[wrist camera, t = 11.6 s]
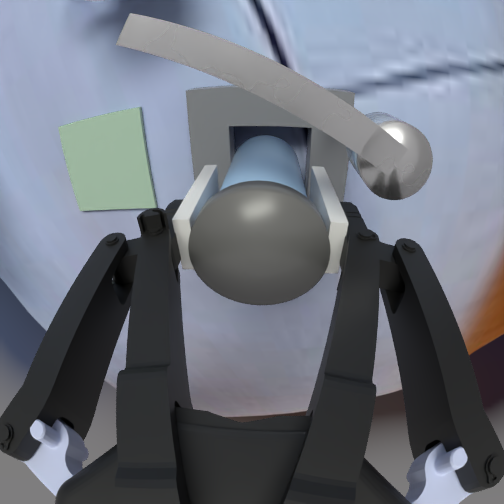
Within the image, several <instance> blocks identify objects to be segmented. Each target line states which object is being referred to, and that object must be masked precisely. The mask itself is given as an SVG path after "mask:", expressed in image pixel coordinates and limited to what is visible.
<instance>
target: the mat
mask: <svg viewBox="0 0 504 504" xmlns="http://www.w3.org/2000/svg"><path fill="white" fill-rule="evenodd" d="M58 128H59V134H60V138H61V143H62V148H63V152H64V156H65V160H66V164H67V168H68V172H69V176H70V180H71V183H72V187H73V190H74V193H75V197H76V200H77V203H78V206H79V209H80V211H90V210H111V209H140V208H156V207H157V201H156V196H155V191H154V186H153V181H152V175H151V170H150V164H149V158H148V152H147V145H146V139H145V132H144V125H143V117H142V109H141V107H138V108H132V109H127V110H122V111H117V112H113V113H108V114H104V115H100V116H96V117H92V118H88V119H84V120H81V121H77V122H73V123H70V124H67V125H64V126H60V127H58Z"/></svg>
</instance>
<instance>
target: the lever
mask: <svg viewBox="0 0 504 504" xmlns="http://www.w3.org/2000/svg"><path fill="white" fill-rule="evenodd" d="M116 45H119V46H123V47H127V48H131V49H135V50H138V51H142V52H145V53H149V54H152V55H156V56H159V57H162V58H165V59H168V60H171V61H174V62H177V63H180V64H183V65H186V66H189V67H191V68H194V69H197V70H199V71H202V72H205V73H207V74H210V75H212V76H215V77H217V78H220V79H222V80H224V81H227V82H229V83H231V84H233V85H236V86H238V87H240V88H242V89H245V90H247V91H249V92H251V93H253V94H255V95H257V96H259V97H261V98H263V99H265V100H267V101H269V102H271V103H273V104H275V105H277V106H279V107H281V108H283V109H285V110H287V111H288V112H290V113H292V114H294V115H296V116H297V117H299V118H301V119H303V120H304V121H306V122H308V123H310V124H311V125H313V126H315V127H316V128H318V129H320V130H321V131H323V132H325V133H326V134H328V135H329V136H331V137H333V138H334V139H336V140H337V141H339V142H340V143H342V144H343V145H345V146H346V150H347V155H348V158H349V160H350V162H351V164H352V165H353V167H354V168H355V169H356V171H357V172H358V174H359V175H360V176H361V178H362V179H363V181H364V182H365V184H366V185H367V187H368V188H369V189H370V190H371V191H372V192H373V193H374V194H376V195H377V196H379V197H382V198H384V199H388V200H400V199H404V198H407V197H410V196H412V195H413V194H415V193H416V192H418V191H419V190H420V189H421V188H422V187H423V185H424V184H425V183H426V181H427V179H428V177H429V175H430V173H431V169H432V162H433V157H432V151H431V147H430V144H429V142H428V140H427V139H426V137H425V136H424V135H423V134H422V133H421V132H420V131H419V130H418V129H417V128H415V127H413V126H411V125H410V124H408V123H406V122H404V121H402V120H400V119H398V118H396V117H394V116H392V115H389V114H387V113H382V112H374V113H369V114H367V115H364V114H362V113H361V112H359V111H358V110H357V109H355V108H354V107H352V106H351V105H349V104H348V103H346V102H345V101H343V100H342V99H340V98H339V97H337V96H336V95H334V94H332V93H331V92H329V91H328V90H326V89H324V88H323V87H321V86H319V85H318V84H316V83H314V82H313V81H311V80H309V79H307V78H306V77H304V76H302V75H300V74H298V73H297V72H295V71H293V70H291V69H289V68H287V67H285V66H283V65H281V64H279V63H277V62H275V61H273V60H271V59H269V58H267V57H265V56H263V55H260V54H258V53H256V52H254V51H252V50H249V49H247V48H245V47H242V46H240V45H237V44H235V43H232V42H230V41H227V40H225V39H222V38H219V37H217V36H214V35H211V34H208V33H205V32H202V31H199V30H196V29H193V28H190V27H186V26H183V25H179V24H176V23H172V22H168V21H164V20H160V19H156V18H152V17H147V16H143V15H138V14H132V13H130V14H129V16H128V18H127V20H126V23H125V25H124V27H123V29H122V31H121V34H120V36H119V38H118V41H117V43H116Z"/></svg>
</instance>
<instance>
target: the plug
mask: <svg viewBox="0 0 504 504" xmlns="http://www.w3.org/2000/svg"><path fill="white" fill-rule="evenodd" d="M188 251H189V257H190V261H191V263H192V266H193V268H194V270H195V271H196V273H197V275H198V276H199V277H200V278H201V280H202V281H203V282H204V283H205V284H206V285H207V286H208V287H210V288H211V289H212V290H214V291H215V292H217V293H218V294H220V295H222V296H224V297H226V298H228V299H231V300H234V301H237V302H240V303H245V304H251V305H272V304H279V303H283V302H287V301H290V300H293V299H295V298H297V297H299V296H301V295H303V294H305V293H306V292H307V291H309V290H310V289H311V288H313V287H314V286H315V285H316V284H317V283H318V282H319V280H320V279H321V278H322V276H323V275H324V273H325V271H326V269H327V267H328V263H329V260H330V252H331V251H330V241H329V237H328V233H327V230H326V226H325V222H324V220H323V218H322V215H321V214H320V212H319V210H318V209H317V207H316V206H315V205H314V204H313V203H312V202H311V201H310V200H309V199H308V198H307V195H306V191H305V186H304V182H303V178H302V174H301V170H300V166H299V162H298V159H297V155H296V153H295V151H294V150H293V148H292V147H291V146H290V145H289V144H288V143H287V142H285V141H284V140H282V139H280V138H278V137H275V136H270V135H260V136H256V137H252V138H250V139H248V140H247V141H245V142H244V143H243V144H241V146H240V147H239V148H238V149H237V151H236V153H235V155H234V157H233V160H232V162H231V165H230V167H229V169H228V172H227V174H226V177H225V179H224V182H223V184H222V187H221V189H220V191H219V192H217V193H216V194H214V195H213V196H212V197H211V198H210V199H209V200H208V201H207V202H206V203H205V204H204V206H203V207H202V209H201V210H200V212H199V214H198V216H197V218H196V220H195V223H194V225H193V227H192V230H191V232H190V236H189V241H188Z"/></svg>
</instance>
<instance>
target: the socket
mask: <svg viewBox="0 0 504 504" xmlns="http://www.w3.org/2000/svg"><path fill="white" fill-rule="evenodd" d="M324 89H326V90H328V91H329V92H331V93H332V94H334V95H336V96H337V97H339V98H340V99H342V100H343V101H345V102H346V103H348V104H349V105H351V106H352V107H354V96H355V93H353V92H350V91H347V90H339V89H330V88H324ZM186 98H187V110H188V122H189V133H190V143H191V153H192V162H193V171H194V179H195V180H196V179H197V177H198V175H199V174H200V172H201V171H202V169H203V168H204V166H205V165H217V171H218V183H219V191H220V189H221V187H222V184H223V182H224V179H225V177H226V174H227V172H228V169H229V167H230V165H231V162H232V160H233V157H234V155H235V144H234V126H285V127H306V128H308V136H307V155H306V171H305V191H306V195H307V198H308V199H309V192H310V180H311V167H312V166H318V167H324V168H325V171H326V173H327V175H328V177H329V179H330V181H331V184H332V186H333V188H334V190H335V192H336V195H337V197H338V199H339V202H343V198H344V191H345V184H346V177H347V169H348V161H349V158H348V155H347V150H346V146H345V145H343V144H342V143H340V142H339V141H337V140H336V139H334V138H333V137H331V136H329V135H328V134H326V133H325V132H323V131H321V130H320V129H318V128H316V127H315V126H313V125H311V124H310V123H308V122H306V121H304V120H303V119H301V118H299V117H297V116H296V115H294V114H292V113H290V112H288V111H287V110H285V109H283V108H281V107H279V106H277V105H275V104H273V103H271V102H269V101H267V100H265V99H263V98H261V97H259V96H257V95H255V94H253V93H251V92H249V91H247V90H245V89H242V88H240V87H238V86H236V85H234V86H216V87H203V88H194V89H191V90H187V91H186Z"/></svg>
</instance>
